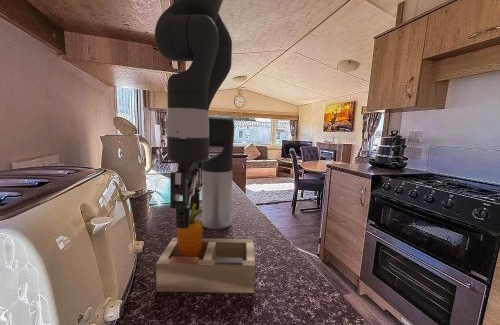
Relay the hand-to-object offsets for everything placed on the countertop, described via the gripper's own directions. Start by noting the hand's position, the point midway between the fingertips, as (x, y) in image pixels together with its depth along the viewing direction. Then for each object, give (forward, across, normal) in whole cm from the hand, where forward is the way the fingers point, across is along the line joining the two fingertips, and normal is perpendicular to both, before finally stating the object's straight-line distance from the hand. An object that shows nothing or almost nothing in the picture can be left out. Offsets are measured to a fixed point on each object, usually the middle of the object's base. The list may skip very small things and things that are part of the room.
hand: (189, 217), depth 44 cm
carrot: (+12, 0, 0) cm, 12 cm away
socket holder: (+12, 0, +4) cm, 13 cm away
